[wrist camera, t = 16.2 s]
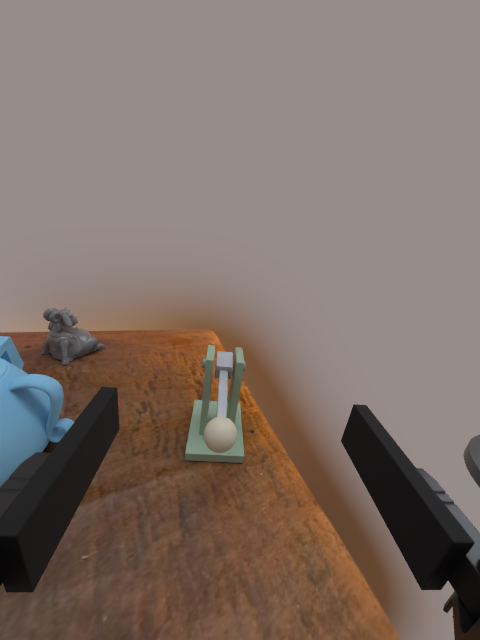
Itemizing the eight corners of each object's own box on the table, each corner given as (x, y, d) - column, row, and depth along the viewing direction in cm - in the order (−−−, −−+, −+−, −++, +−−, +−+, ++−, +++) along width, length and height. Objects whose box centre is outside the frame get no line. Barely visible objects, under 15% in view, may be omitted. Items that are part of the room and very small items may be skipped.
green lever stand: (243, 463, 34) (258, 378, 29) (184, 460, 33) (191, 372, 29) (239, 408, 44) (250, 339, 40) (194, 405, 44) (200, 334, 39)
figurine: (108, 349, 58) (106, 305, 54) (63, 366, 49) (57, 316, 46) (85, 338, 61) (82, 296, 57) (39, 353, 52) (32, 305, 49)
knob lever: (234, 459, 27) (239, 443, 24) (201, 458, 26) (202, 441, 24) (235, 366, 37) (238, 349, 35) (211, 364, 37) (212, 347, 35)
